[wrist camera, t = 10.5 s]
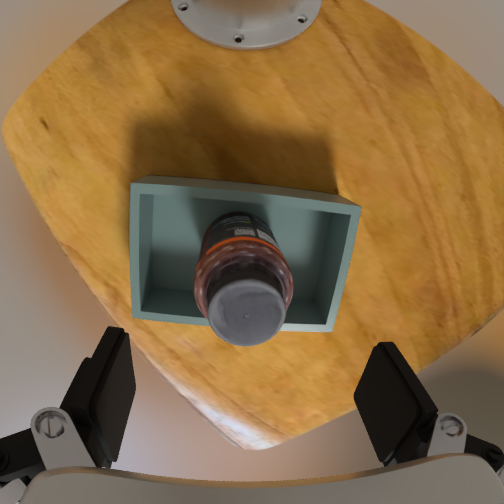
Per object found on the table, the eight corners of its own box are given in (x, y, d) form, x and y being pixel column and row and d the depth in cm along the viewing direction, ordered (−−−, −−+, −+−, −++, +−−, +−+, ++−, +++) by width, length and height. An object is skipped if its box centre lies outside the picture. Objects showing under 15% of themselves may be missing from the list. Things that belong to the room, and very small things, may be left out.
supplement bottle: (224, 288, 27) (222, 376, 17) (189, 230, 25) (162, 294, 15) (285, 258, 27) (320, 334, 16) (254, 196, 25) (274, 239, 14)
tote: (148, 175, 24) (130, 182, 20) (338, 194, 26) (361, 206, 21) (146, 289, 28) (132, 317, 23) (317, 303, 29) (331, 332, 25)
